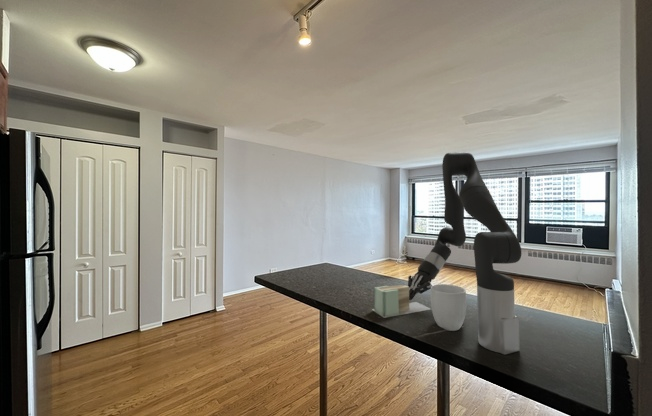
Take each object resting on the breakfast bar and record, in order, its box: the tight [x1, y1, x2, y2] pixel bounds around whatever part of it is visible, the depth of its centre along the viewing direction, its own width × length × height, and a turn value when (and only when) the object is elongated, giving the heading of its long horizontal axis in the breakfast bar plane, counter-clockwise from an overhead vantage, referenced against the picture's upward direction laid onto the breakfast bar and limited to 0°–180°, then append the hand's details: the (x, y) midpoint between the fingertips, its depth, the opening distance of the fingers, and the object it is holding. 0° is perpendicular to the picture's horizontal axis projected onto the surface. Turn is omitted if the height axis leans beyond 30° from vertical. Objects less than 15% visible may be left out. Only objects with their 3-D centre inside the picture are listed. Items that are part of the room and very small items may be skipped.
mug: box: [430, 283, 468, 332], centre depth 91 cm, size 15×11×13 cm
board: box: [371, 301, 431, 319], centre depth 105 cm, size 9×22×1 cm, turn 110°
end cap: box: [373, 285, 399, 316], centre depth 102 cm, size 7×7×9 cm
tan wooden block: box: [379, 284, 410, 311], centre depth 104 cm, size 4×12×9 cm, turn 110°
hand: (408, 298), depth 106 cm, fingers closed
